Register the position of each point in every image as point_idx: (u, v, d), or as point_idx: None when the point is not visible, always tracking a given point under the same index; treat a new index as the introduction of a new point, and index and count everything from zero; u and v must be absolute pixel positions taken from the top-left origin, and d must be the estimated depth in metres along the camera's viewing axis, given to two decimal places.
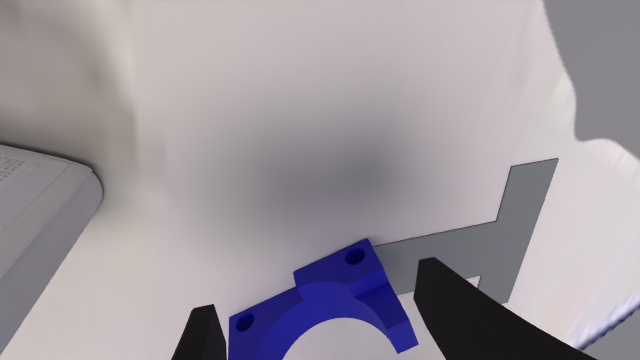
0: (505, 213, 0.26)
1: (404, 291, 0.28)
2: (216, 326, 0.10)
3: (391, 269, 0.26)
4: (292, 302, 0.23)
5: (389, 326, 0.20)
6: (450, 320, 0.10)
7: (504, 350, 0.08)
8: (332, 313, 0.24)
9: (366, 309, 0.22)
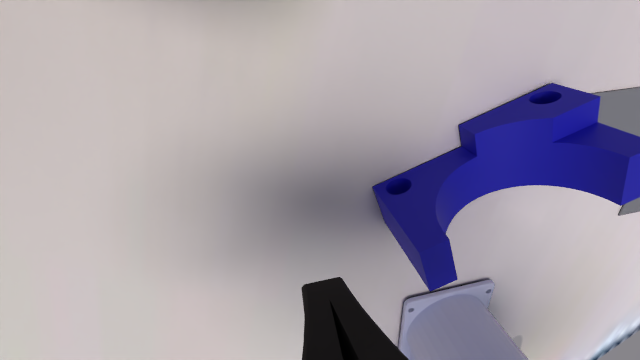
0: None
1: None
2: None
3: None
4: (459, 160, 0.19)
5: (631, 153, 0.15)
6: (341, 348, 0.09)
7: None
8: (502, 180, 0.20)
9: (570, 155, 0.17)
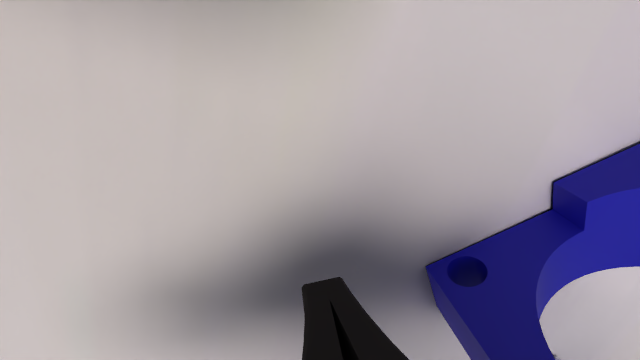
0: None
1: None
2: None
3: None
4: (556, 235, 0.13)
5: None
6: (341, 348, 0.09)
7: None
8: (611, 259, 0.14)
9: None
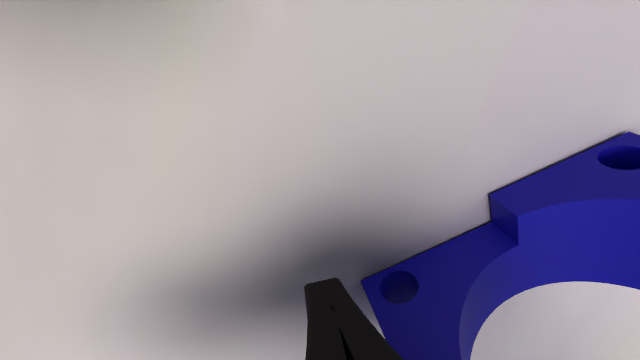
0: None
1: None
2: None
3: None
4: (491, 249, 0.12)
5: None
6: None
7: None
8: (551, 273, 0.13)
9: None
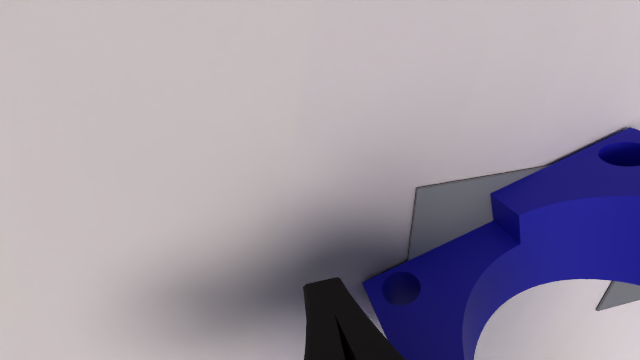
0: None
1: None
2: None
3: None
4: (492, 249, 0.12)
5: None
6: None
7: None
8: (554, 272, 0.13)
9: None
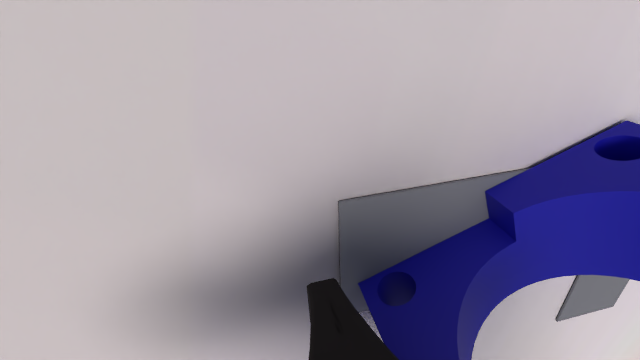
0: None
1: None
2: None
3: (435, 242, 0.13)
4: (488, 247, 0.12)
5: None
6: None
7: None
8: (552, 268, 0.13)
9: None
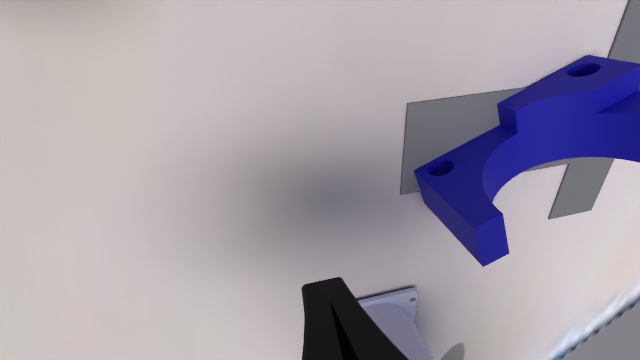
0: None
1: None
2: None
3: (465, 140, 0.20)
4: (499, 138, 0.19)
5: None
6: (341, 348, 0.09)
7: None
8: (542, 156, 0.20)
9: (614, 125, 0.17)
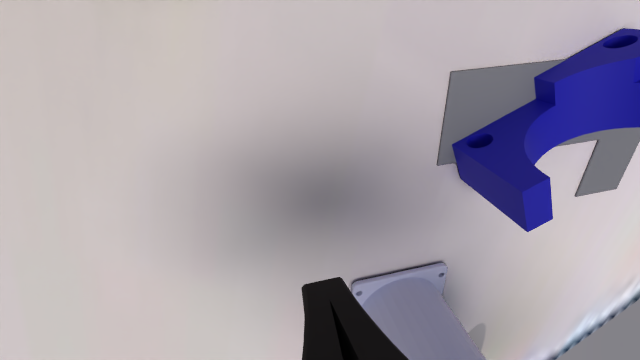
0: None
1: None
2: None
3: (502, 112, 0.21)
4: (537, 111, 0.20)
5: None
6: (341, 348, 0.09)
7: None
8: (577, 128, 0.20)
9: None
